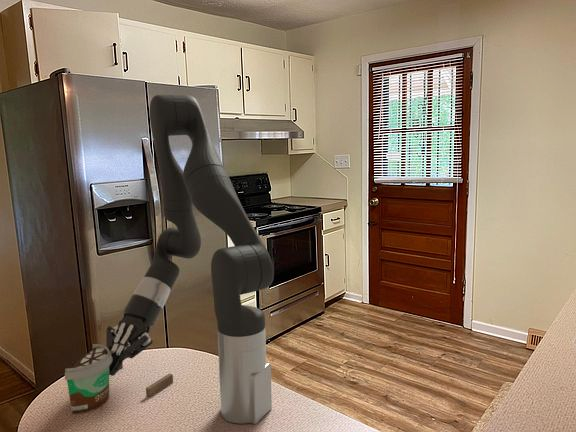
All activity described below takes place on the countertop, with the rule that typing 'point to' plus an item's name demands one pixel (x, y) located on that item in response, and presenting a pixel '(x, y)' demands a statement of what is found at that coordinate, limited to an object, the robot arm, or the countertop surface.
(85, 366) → the food container
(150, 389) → the slot rails
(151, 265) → the robot arm
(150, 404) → the countertop surface
